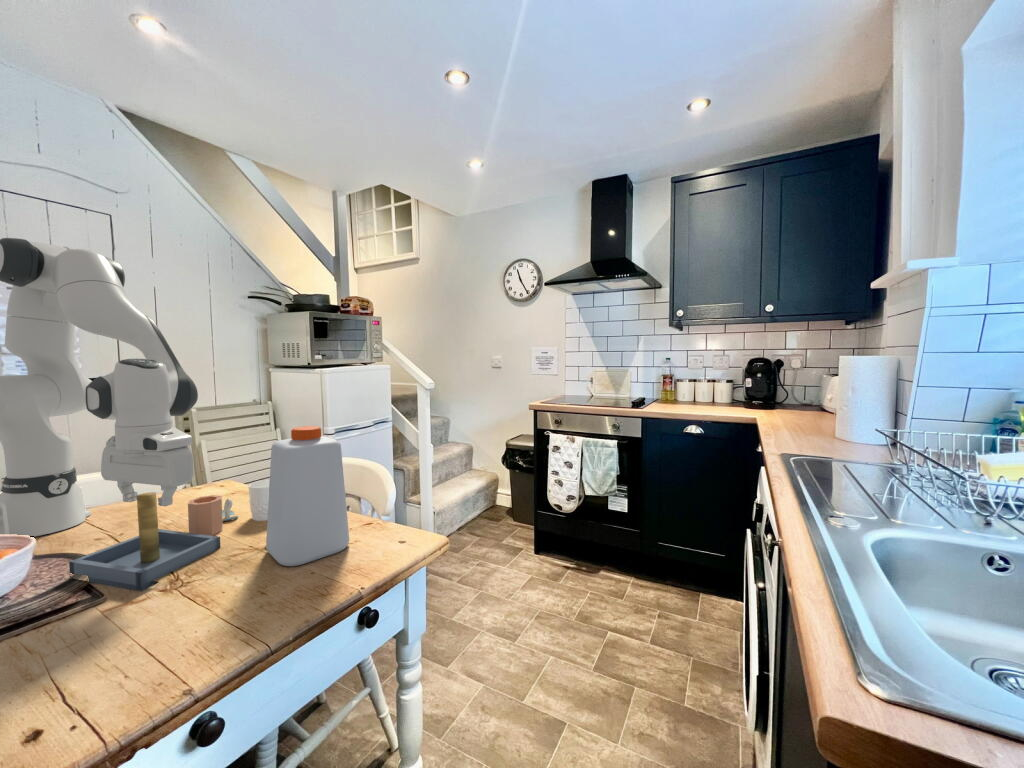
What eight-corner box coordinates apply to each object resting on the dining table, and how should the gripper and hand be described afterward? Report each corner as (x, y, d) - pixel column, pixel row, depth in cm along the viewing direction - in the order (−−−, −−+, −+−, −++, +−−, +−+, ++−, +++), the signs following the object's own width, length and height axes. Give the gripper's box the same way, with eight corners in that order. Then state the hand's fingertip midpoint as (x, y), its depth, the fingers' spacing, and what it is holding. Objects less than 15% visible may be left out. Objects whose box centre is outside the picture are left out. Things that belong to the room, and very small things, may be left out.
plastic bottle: (261, 549, 92) (257, 427, 91) (328, 529, 103) (326, 420, 102) (284, 573, 82) (281, 436, 80) (356, 548, 93) (354, 428, 91)
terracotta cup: (182, 539, 97) (181, 503, 96) (208, 529, 103) (207, 494, 102) (204, 542, 95) (203, 505, 95) (229, 531, 101) (228, 496, 101)
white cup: (267, 526, 105) (266, 488, 104) (242, 524, 106) (241, 486, 106) (290, 515, 112) (289, 480, 112) (266, 513, 114) (265, 478, 113)
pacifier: (212, 531, 102) (240, 523, 107) (211, 507, 102) (238, 500, 106) (205, 523, 107) (232, 516, 112) (204, 500, 107) (231, 494, 111)
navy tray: (70, 579, 79) (69, 561, 79) (157, 543, 95) (157, 528, 94) (141, 591, 75) (140, 573, 75) (220, 552, 91) (220, 536, 90)
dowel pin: (136, 562, 84) (132, 496, 83) (152, 555, 87) (148, 491, 86) (148, 564, 83) (144, 497, 82) (163, 557, 86) (159, 492, 85)
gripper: (88, 437, 83) (91, 504, 83) (167, 443, 78) (169, 513, 79) (124, 432, 89) (127, 494, 89) (199, 437, 84) (201, 502, 85)
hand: (147, 503), depth 84 cm, fingers open, 8 cm apart
